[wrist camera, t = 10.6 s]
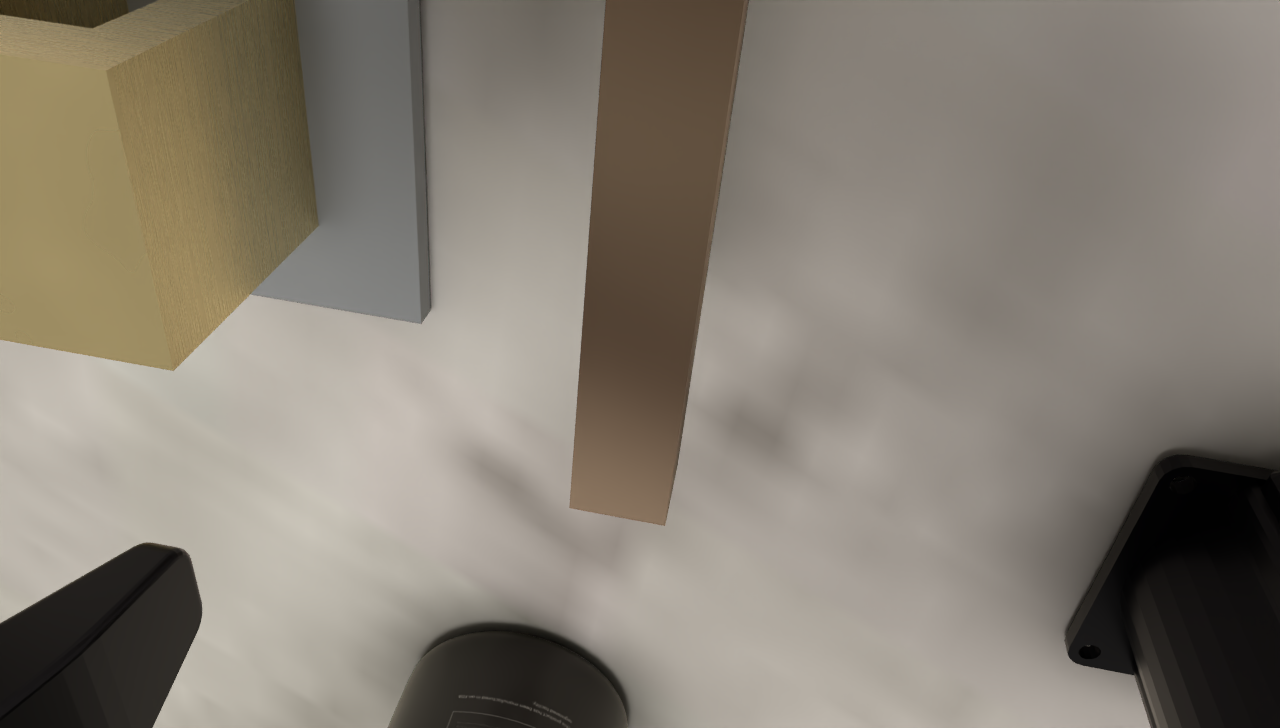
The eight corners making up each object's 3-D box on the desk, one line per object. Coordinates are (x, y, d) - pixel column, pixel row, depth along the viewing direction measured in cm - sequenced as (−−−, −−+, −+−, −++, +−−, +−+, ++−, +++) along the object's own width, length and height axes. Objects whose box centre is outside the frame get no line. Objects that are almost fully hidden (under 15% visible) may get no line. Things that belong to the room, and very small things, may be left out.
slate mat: (430, 310, 22) (420, 323, 21) (59, 246, 23) (43, 258, 22) (414, -129, 17) (402, -125, 16) (-64, -193, 17) (-90, -191, 17)
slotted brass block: (318, 226, 20) (173, 370, 16) (114, 192, 21) (-84, 324, 16) (292, -21, 18) (105, 70, 13) (56, -55, 18) (-204, 22, 13)
